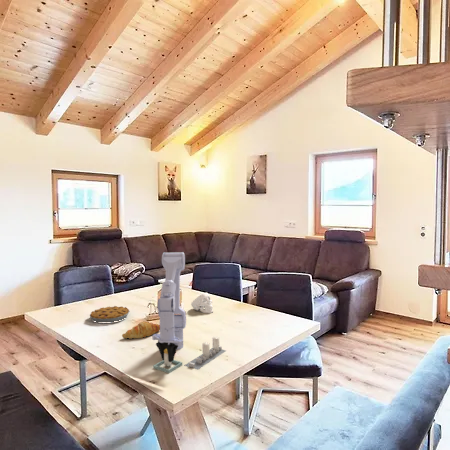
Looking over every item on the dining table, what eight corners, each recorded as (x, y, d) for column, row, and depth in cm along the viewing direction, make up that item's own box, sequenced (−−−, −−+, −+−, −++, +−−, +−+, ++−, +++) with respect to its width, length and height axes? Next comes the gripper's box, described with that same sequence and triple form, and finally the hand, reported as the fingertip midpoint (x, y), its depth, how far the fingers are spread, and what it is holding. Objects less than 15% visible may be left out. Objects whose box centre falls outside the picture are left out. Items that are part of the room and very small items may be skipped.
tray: (153, 369, 144) (153, 365, 144) (167, 362, 151) (167, 357, 151) (169, 375, 140) (168, 370, 140) (182, 366, 147) (182, 362, 147)
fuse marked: (162, 365, 145) (162, 350, 145) (168, 362, 148) (167, 347, 147) (168, 367, 144) (167, 352, 143) (173, 364, 146) (173, 349, 146)
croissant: (124, 348, 175) (127, 336, 171) (117, 333, 182) (119, 321, 178) (164, 337, 188) (167, 325, 184) (156, 323, 194) (159, 312, 191)
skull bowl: (208, 313, 212) (199, 294, 216) (194, 321, 220) (186, 303, 224) (220, 308, 221) (211, 290, 224) (206, 317, 229) (198, 299, 232)
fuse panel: (184, 367, 146) (183, 362, 146) (213, 349, 164) (213, 344, 164) (198, 371, 143) (197, 366, 143) (226, 352, 160) (226, 347, 160)
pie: (134, 313, 220) (134, 304, 220) (121, 325, 198) (120, 316, 198) (100, 312, 222) (100, 304, 222) (82, 324, 200) (82, 315, 200)
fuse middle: (201, 358, 153) (201, 344, 152) (205, 355, 155) (205, 341, 155) (207, 359, 151) (206, 345, 151) (211, 357, 154) (210, 343, 153)
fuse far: (211, 351, 159) (211, 338, 159) (215, 349, 162) (214, 336, 161) (217, 353, 158) (216, 339, 157) (220, 350, 160) (220, 337, 160)
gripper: (146, 326, 145) (147, 359, 146) (174, 333, 137) (175, 368, 138) (158, 321, 151) (159, 353, 152) (186, 327, 143) (186, 361, 144)
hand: (167, 360), depth 146 cm, fingers closed on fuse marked, 3 cm apart
